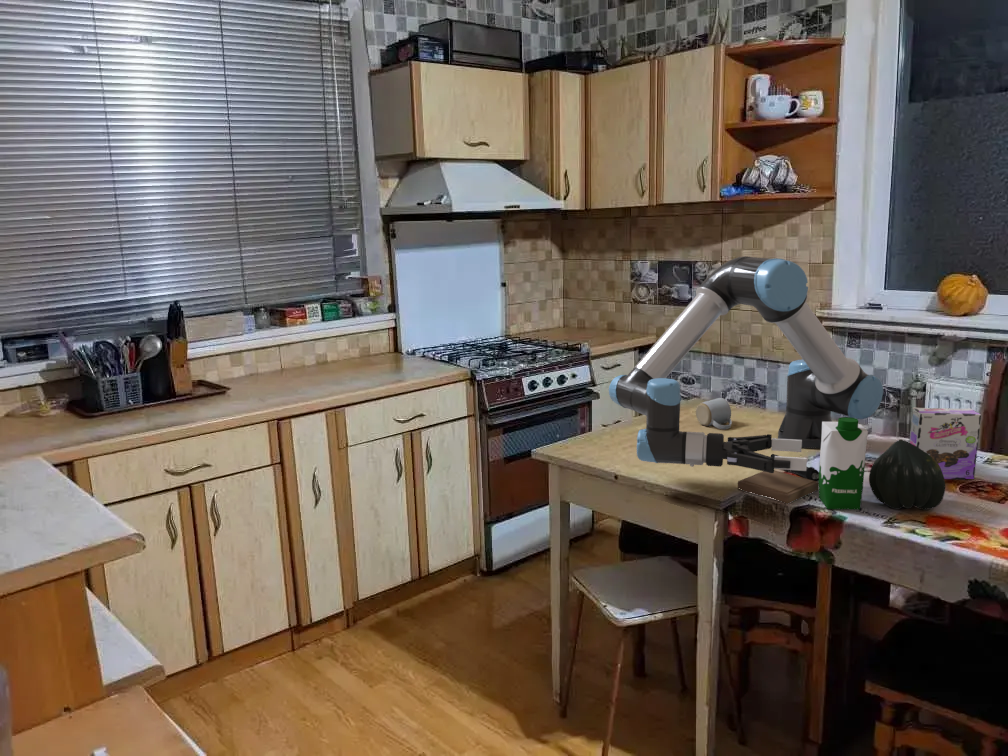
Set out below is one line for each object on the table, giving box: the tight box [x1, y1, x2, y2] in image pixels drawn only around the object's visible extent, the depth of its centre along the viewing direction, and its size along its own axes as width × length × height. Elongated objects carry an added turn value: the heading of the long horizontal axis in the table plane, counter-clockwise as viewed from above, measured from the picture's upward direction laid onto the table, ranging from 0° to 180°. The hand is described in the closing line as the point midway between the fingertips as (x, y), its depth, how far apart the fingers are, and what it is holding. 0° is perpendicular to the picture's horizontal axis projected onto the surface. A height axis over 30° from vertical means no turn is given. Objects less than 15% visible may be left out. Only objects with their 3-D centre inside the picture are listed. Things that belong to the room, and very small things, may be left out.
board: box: [737, 469, 819, 505], centre depth 194 cm, size 13×13×2 cm
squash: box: [868, 438, 946, 510], centre depth 183 cm, size 14×15×15 cm
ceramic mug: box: [695, 397, 733, 431], centre depth 247 cm, size 11×8×8 cm
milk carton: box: [818, 416, 869, 511], centre depth 183 cm, size 9×9×20 cm
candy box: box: [908, 407, 982, 480], centre depth 200 cm, size 14×6×16 cm, turn 82°
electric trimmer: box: [770, 453, 819, 482], centre depth 206 cm, size 4×16×3 cm, turn 23°
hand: (804, 454), depth 184 cm, fingers open, 13 cm apart
